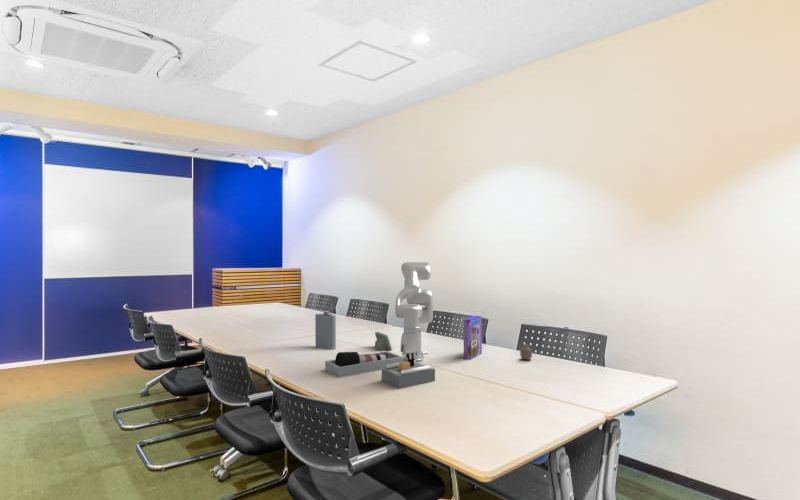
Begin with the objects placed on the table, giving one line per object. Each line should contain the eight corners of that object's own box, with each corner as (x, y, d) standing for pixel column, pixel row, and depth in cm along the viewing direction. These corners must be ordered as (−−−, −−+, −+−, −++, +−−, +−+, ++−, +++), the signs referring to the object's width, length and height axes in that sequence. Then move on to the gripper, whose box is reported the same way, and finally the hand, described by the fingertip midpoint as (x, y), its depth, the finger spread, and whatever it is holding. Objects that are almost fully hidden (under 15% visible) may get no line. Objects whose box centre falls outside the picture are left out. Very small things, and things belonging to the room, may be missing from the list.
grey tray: (387, 359, 272) (387, 351, 272) (403, 365, 258) (403, 356, 258) (325, 370, 249) (325, 361, 249) (338, 377, 235) (338, 367, 235)
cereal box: (470, 359, 271) (470, 319, 271) (463, 358, 274) (463, 319, 274) (481, 353, 286) (481, 316, 286) (474, 352, 288) (474, 315, 288)
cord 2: (428, 368, 229) (428, 364, 229) (431, 369, 227) (431, 365, 227) (399, 374, 219) (399, 370, 219) (402, 375, 217) (402, 371, 217)
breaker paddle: (405, 367, 230) (405, 360, 230) (409, 369, 227) (409, 362, 227) (399, 368, 228) (398, 361, 228) (403, 370, 224) (403, 363, 224)
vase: (525, 361, 266) (525, 346, 266) (517, 359, 272) (517, 344, 272) (534, 360, 269) (534, 345, 269) (526, 357, 275) (526, 343, 275)
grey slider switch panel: (416, 373, 241) (416, 362, 241) (435, 380, 228) (435, 368, 228) (381, 380, 229) (381, 368, 229) (399, 388, 216) (399, 375, 216)
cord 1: (413, 363, 240) (413, 359, 240) (416, 363, 238) (416, 360, 238) (385, 368, 230) (385, 364, 230) (387, 369, 228) (387, 365, 228)
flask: (337, 348, 302) (337, 311, 302) (333, 349, 298) (332, 312, 298) (319, 345, 312) (319, 309, 312) (314, 346, 308) (314, 310, 308)
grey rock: (392, 350, 295) (392, 334, 295) (379, 352, 292) (379, 335, 292) (385, 345, 310) (385, 330, 310) (373, 346, 308) (373, 331, 307)
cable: (392, 371, 261) (397, 358, 258) (340, 375, 243) (345, 360, 239) (384, 360, 269) (390, 347, 265) (333, 363, 250) (338, 348, 247)
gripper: (418, 327, 237) (418, 362, 237) (394, 330, 228) (394, 366, 228) (427, 329, 231) (427, 365, 231) (403, 333, 222) (403, 370, 222)
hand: (411, 366), depth 229 cm, fingers closed
